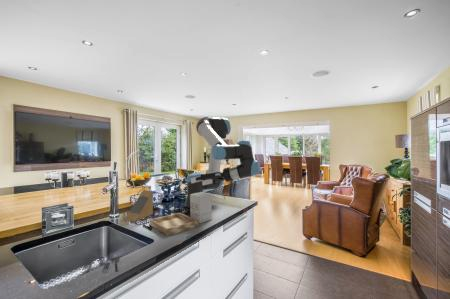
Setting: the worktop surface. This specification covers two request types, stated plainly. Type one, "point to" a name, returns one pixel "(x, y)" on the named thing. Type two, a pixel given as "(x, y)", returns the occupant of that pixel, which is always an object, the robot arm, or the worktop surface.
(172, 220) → the oak tray
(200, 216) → the supplement box
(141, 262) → the worktop surface
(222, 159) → the robot arm
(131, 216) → the sandwich container
